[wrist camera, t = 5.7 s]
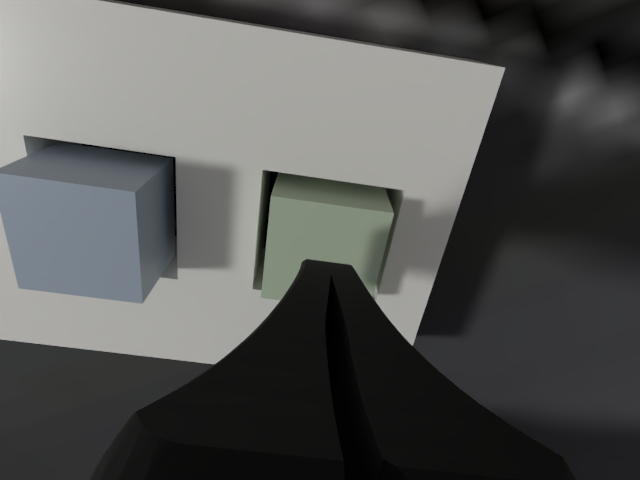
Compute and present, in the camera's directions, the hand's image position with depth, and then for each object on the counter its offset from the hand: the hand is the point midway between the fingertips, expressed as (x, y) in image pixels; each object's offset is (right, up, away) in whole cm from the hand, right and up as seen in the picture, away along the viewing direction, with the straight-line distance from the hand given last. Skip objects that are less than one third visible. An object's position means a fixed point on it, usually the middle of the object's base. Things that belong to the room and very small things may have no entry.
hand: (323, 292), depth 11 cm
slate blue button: (-7, +3, +3) cm, 8 cm away
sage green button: (0, +2, +4) cm, 5 cm away
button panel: (-7, +4, +5) cm, 9 cm away
